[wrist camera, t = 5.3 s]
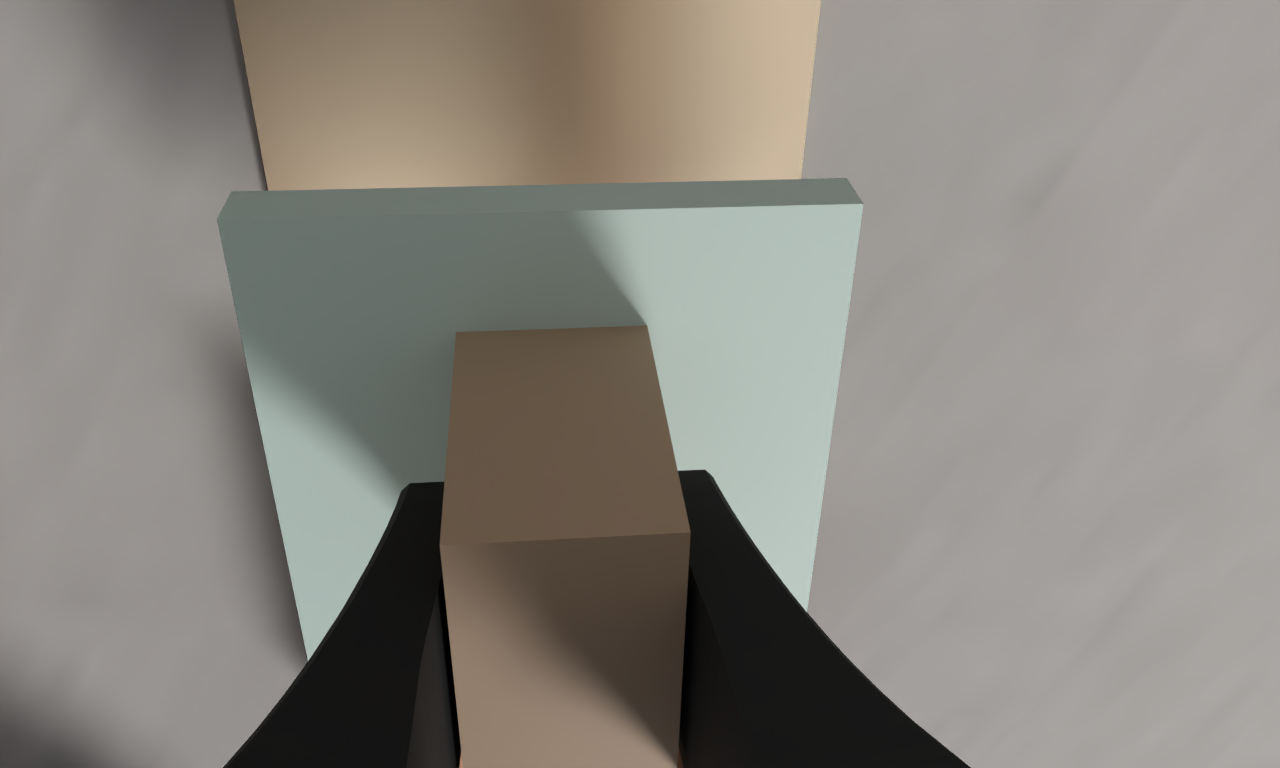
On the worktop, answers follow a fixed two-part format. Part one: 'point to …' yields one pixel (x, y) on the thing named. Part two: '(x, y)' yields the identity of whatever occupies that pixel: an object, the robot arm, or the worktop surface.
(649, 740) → the lid
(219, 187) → the worktop surface
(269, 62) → the mat
